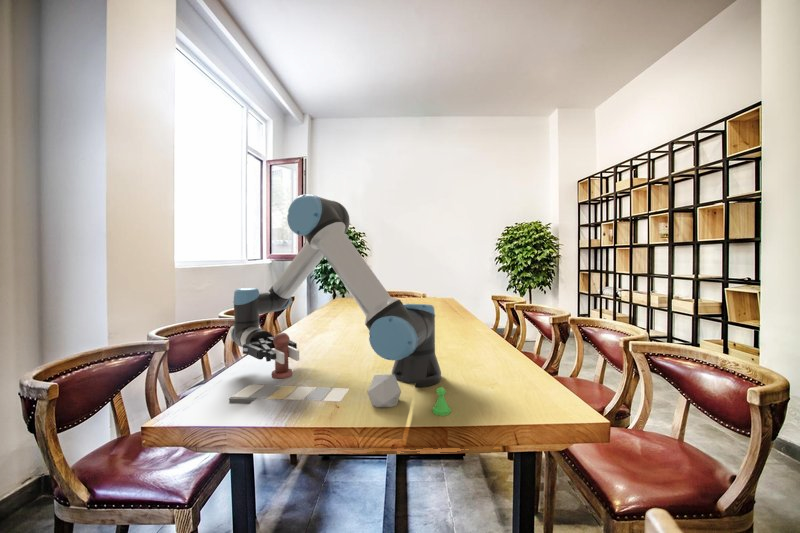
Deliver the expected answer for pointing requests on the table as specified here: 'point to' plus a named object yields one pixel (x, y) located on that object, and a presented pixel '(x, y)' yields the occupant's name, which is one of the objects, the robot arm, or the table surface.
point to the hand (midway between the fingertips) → (290, 357)
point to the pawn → (283, 369)
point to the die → (384, 391)
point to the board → (299, 394)
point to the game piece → (441, 404)
